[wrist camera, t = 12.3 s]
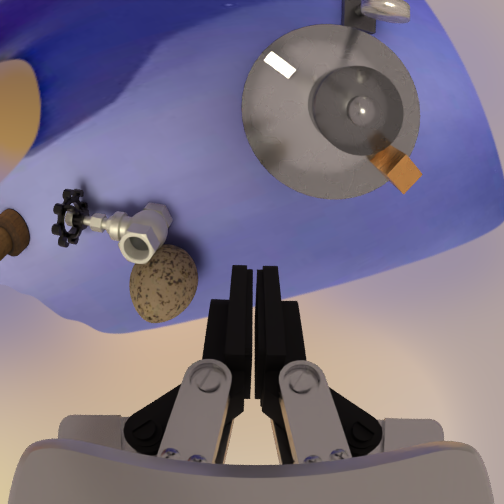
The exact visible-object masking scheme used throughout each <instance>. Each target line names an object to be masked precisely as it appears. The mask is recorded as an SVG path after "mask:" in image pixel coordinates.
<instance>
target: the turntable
mask: <svg viewBox="0 0 504 504" xmlns="http://www.w3.org/2000/svg"><path fill="white" fill-rule="evenodd" d="M347 66H365V67H369V68H372V69H375V70H377V71H379V72H381V73H382V74H383V75H385V76H386V77H387V78H388V79H389V80H390V81H391V82H392V83H393V84H394V86H395V87H396V88H397V90H398V92H399V94H400V97H401V100H402V104H403V123H402V127H401V129H400V132H399V134H398V136H397V137H396V139H395V140H394V141H393V142H392V143H391V144H390V145H389V146H388V147H387V148H386V149H384V150H382V151H380V152H378V153H376V154H372V155H366V156H358V155H352V154H348V153H346V152H343V151H341V150H339V149H338V148H336V147H335V146H334V145H332V144H331V143H330V142H329V141H328V140H327V139H326V138H325V137H324V136H322V135H321V134H320V133H319V132H318V130H317V129H316V128H315V126H314V125H313V123H312V121H311V118H310V115H309V111H308V97H309V93H310V90H311V88H312V86H313V84H314V83H315V82H316V80H317V79H318V78H319V77H320V76H321V75H323V74H324V73H326V72H328V71H330V70H332V69H336V68H341V67H347ZM242 120H243V125H244V129H245V133H246V136H247V139H248V142H249V144H250V146H251V148H252V150H253V152H254V154H255V155H256V157H257V158H258V159H259V161H260V162H261V164H262V165H263V166H264V167H265V168H266V169H267V170H268V172H269V173H270V174H272V175H273V176H274V177H275V178H276V179H277V180H279V181H280V182H282V183H283V184H285V185H286V186H288V187H290V188H292V189H293V190H295V191H297V192H300V193H303V194H305V195H308V196H312V197H317V198H323V199H346V198H353V197H357V196H361V195H364V194H366V193H369V192H371V191H373V190H375V189H377V188H379V187H381V186H382V185H384V184H385V183H386V182H388V181H390V182H391V183H392V184H393V185H394V186H395V187H396V188H397V189H398V190H400V191H401V192H402V193H403V194H405V193H406V191H407V190H408V189H409V188H410V187H411V186H412V185H413V184H414V183H415V182H416V181H417V180H418V179H419V178H420V177H421V176H422V175H423V174H422V173H421V172H420V171H419V169H418V168H417V167H416V166H415V164H414V163H413V162H412V161H411V160H410V158H409V156H410V154H411V152H412V150H413V148H414V146H415V143H416V140H417V136H418V131H419V125H420V107H419V100H418V95H417V91H416V88H415V85H414V82H413V80H412V78H411V76H410V74H409V72H408V70H407V69H406V67H405V66H404V64H403V63H402V62H401V60H400V59H399V58H398V57H397V56H396V54H395V53H394V52H393V51H392V50H390V49H389V48H388V47H387V46H386V45H385V44H383V43H382V42H381V41H379V40H378V39H376V38H375V37H373V36H371V35H369V34H367V33H365V32H363V31H360V30H357V29H355V28H351V27H347V26H342V25H333V24H320V25H312V26H307V27H303V28H300V29H297V30H294V31H291V32H289V33H287V34H285V35H283V36H282V37H280V38H279V39H277V40H276V41H274V42H273V43H272V44H271V45H269V46H268V47H267V48H266V49H265V50H264V51H263V52H262V54H261V55H260V56H259V57H258V59H257V60H256V61H255V63H254V65H253V67H252V68H251V70H250V72H249V75H248V77H247V80H246V83H245V86H244V91H243V96H242Z"/></svg>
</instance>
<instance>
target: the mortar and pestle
mask: <svg viewBox="0 0 504 504" xmlns="http://www.w3.org/2000/svg"><path fill="white" fill-rule="evenodd" d="M28 244H29V231H28V229H27V226H26V223H25V222H24V220H23V218H22V217H21V216H20V215H19V214H18V213H17V212H16V211H14V210H12V209H7V210H5V211H3V212H2V213H1V214H0V261H1V260H2V259H3V258H4V257H5V256H6V255H7V254H8V255H10V256H18V255H19V254H20V253H21V252H22V251H23V250H24V249H25V248H26V247H27V246H28Z"/></svg>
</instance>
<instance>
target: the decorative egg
mask: <svg viewBox="0 0 504 504" xmlns="http://www.w3.org/2000/svg"><path fill="white" fill-rule="evenodd" d="M197 285H198V273H197V269H196V265H195V263H194V261H193V259H192V258H191V256H190V255H189V254H188V253H187V252H186V251H185V250H183V249H181V248H180V247H178V246H175V245H170V244H163V245H162V246H161V247H160V248H159V249H158V250H156V252H155V253H154V255H153V256H152V257H151V259H150V260H149V261H148V263H147V264H137V263H135V265H134V267H133V269H132V272H131V276H130V286H129V287H130V295H131V299H132V302H133V305H134V307H135V309H136V311H137V312H138V314H139V315H140V316H141V317H142V318H143V319H144V320H146V321H148V322H150V323H160V322H165V321H168V320H170V319H172V318H174V317H176V316H178V315H179V314H180V313H181V312H183V311H184V310H185V309H186V308H187V307H188V305H189V304H190V303H191V301H192V299H193V297H194V295H195V293H196V289H197Z"/></svg>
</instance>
